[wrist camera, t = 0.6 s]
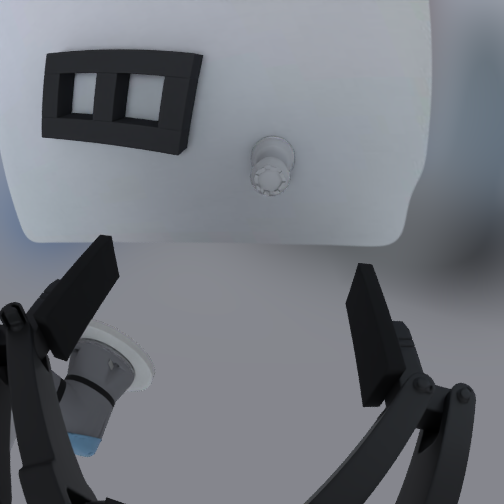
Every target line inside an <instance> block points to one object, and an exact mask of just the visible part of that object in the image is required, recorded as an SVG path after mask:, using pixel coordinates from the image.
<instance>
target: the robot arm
mask: <svg viewBox="0 0 504 504" xmlns="http://www.w3.org/2000/svg"><path fill="white" fill-rule="evenodd" d="M118 278H119V272H118V267H117V262H116V258H115V253H114V247H113V241H112V236H106V235H100V236H99V237H98V238H97V239H96V240H95V241H94V242H93V243H92V244H91V245H90V246H89V248H88V249H87V250H86V251H85V252H84V253H83V254H82V255H81V257H80V258H79V259H78V260H77V261H76V262H75V263H74V265H73V266H72V267H71V268H70V269H69V270H68V272H67V273H66V274H65V275H64V276H63V278H62V279H61V280H59V279H57V280H56V281H54V282H53V283H51V284H50V285H49V286H48V287H47V288H46V289H45V291H44V293H42V294H41V295H40V298H38V299H37V301H36V302H35V303H34V304H33V306H32V307H31V308H30V310H29V311H28V312H27V313H26V314H25V311H24V309H23V307H22V305H21V304H20V303H17V302H13V303H9V304H7V305H6V306H4V307H3V308H2V310H1V311H0V319H1V321H2V323H3V325H0V504H11V501H12V494H11V474H10V450H11V448H12V446H13V443H14V441H15V439H16V437H17V441H18V446H19V451H20V455H21V459H22V464H23V467H22V468H21V469H20V470H19V478H20V482H21V485H22V489H23V492H24V496H25V499H26V502H27V504H124V503H122V502H118V501H116V500H113V499H110V498H106V500H105V501H97V499H96V497H95V495H94V493H93V491H92V490H91V488H90V487H89V486H88V485H87V483H86V481H85V479H84V477H83V475H82V472H81V470H80V467H79V464H78V462H77V459H76V457H75V454H76V455H80V456H85V457H90V456H92V455H94V454H95V452H96V450H97V448H98V446H99V443H100V442H101V441H102V436H103V434H104V431H105V428H106V425H107V423H108V420H109V417H110V415H111V412H112V410H113V407H114V405H115V402H116V401H117V400H118V399H119V398H120V397H121V395H122V394H123V393H124V392H125V391H126V390H127V389H128V388H129V387H130V386H131V384H132V383H133V381H134V378H135V370H134V367H133V366H132V364H131V363H130V362H129V360H128V359H127V358H126V357H125V356H124V355H122V354H121V353H120V352H119V351H117V350H116V349H114V348H113V347H111V346H109V345H107V344H105V343H103V342H101V341H98V340H95V339H90V338H82V339H80V338H81V336H82V334H83V333H84V331H85V329H86V328H87V326H88V325H89V323H90V321H91V320H92V318H93V316H94V315H95V313H96V311H97V310H98V308H99V307H100V305H101V304H102V302H103V301H104V299H105V298H106V296H107V295H108V293H109V291H110V290H111V288H112V287H113V285H114V284H115V282H116V281H117V279H118ZM346 308H347V313H348V319H349V324H350V329H351V334H352V340H353V345H354V351H355V357H356V363H357V370H358V376H359V383H360V389H361V397H362V404H363V407H378V406H380V405H381V404H382V402H383V401H384V400H385V404H386V408H385V410H384V411H383V412H382V413H381V414H380V416H379V417H378V418H377V420H376V422H375V423H374V425H373V426H372V427H371V429H370V430H369V431H368V432H367V434H366V435H365V436H364V437H363V439H362V440H361V441H360V443H359V444H358V445H357V446H356V447H355V449H354V450H353V451H352V452H351V454H350V455H349V456H348V457H347V458H346V460H345V461H344V462H343V463H342V464H341V465H340V466H339V467H338V469H337V470H336V471H335V472H334V473H333V474H332V475H331V476H330V478H329V479H328V480H327V481H326V482H325V483H324V484H323V485H322V486H321V487H320V488H319V489H318V490H317V491H316V492H315V493H314V494H313V495H312V496H311V497H310V498H309V499H308V500H307V501H306V502H305V503H304V504H363V503H364V502H365V501H366V500H367V498H368V497H369V496H370V495H371V493H372V492H373V491H374V490H375V488H376V487H377V486H378V484H379V483H380V482H381V480H382V479H383V477H384V476H385V474H386V473H387V472H388V470H389V469H390V468H391V466H392V465H393V463H394V462H395V460H396V459H397V457H398V456H399V454H400V452H401V451H402V449H403V448H404V446H405V445H406V443H407V442H408V440H409V438H410V437H411V435H412V433H413V432H414V430H415V428H418V429H420V432H419V436H418V440H417V443H416V446H415V450H414V453H413V456H412V459H411V463H410V465H409V468H408V471H407V474H406V477H405V480H404V483H403V485H402V488H401V491H400V493H399V496H398V498H397V501H396V503H395V504H457V503H458V500H459V497H460V493H461V489H462V485H463V480H464V476H465V471H466V467H467V461H468V456H469V450H470V444H471V438H472V431H473V423H474V414H475V404H476V397H475V393H474V392H473V390H472V388H471V387H470V386H468V385H466V384H464V383H458V384H456V385H455V386H453V388H452V389H448V388H444V387H440V386H437V385H435V383H434V381H433V380H432V378H431V377H429V376H428V375H426V374H424V373H423V370H422V367H421V364H420V360H419V357H418V354H417V351H416V348H415V347H414V346H415V345H414V342H413V340H412V336H411V334H410V331H409V329H408V328H407V326H406V325H405V324H404V323H403V322H401V321H392V319H391V316H390V314H389V310H388V307H387V304H386V302H385V299H384V296H383V293H382V290H381V287H380V284H379V282H378V279H377V276H376V273H375V271H374V268H373V265H371V264H363V263H358V266H357V269H356V273H355V276H354V279H353V282H352V286H351V289H350V292H349V295H348V298H347V301H346ZM49 350H51V352H52V353H53V355H54V357H56V358H58V359H61V360H64V361H67V360H68V358H69V357H70V362H69V368H68V374H67V376H66V378H65V380H63V379H62V378H60V377H59V376H58V375H57V374H55V373H54V372H53V371H52V370H51V366H50V361H49V358H48V355H47V353H48V351H49ZM70 355H71V356H70Z"/></svg>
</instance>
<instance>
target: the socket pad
mask: <svg viewBox="0 0 504 504" xmlns="http://www.w3.org/2000/svg"><path fill="white" fill-rule="evenodd" d="M202 58H203V55H199V54H194V53H184V52H173V51H157V50H125V49H116V50H84V51H70V52H59V53H49V54H47V56H46V64H45V75H44V85H43V102H42V137H43V138H55V139H65V140H75V141H84V142H92V143H101V144H108V145H116V146H123V147H130V148H136V149H143V150H149V151H155V152H161V153H167V154H173V155H179V154H180V153H181V152H183V151H184V150H185V149H186V148H187V143H188V136H189V130H190V123H191V117H192V111H193V105H194V100H195V94H196V89H197V83H198V78H199V73H200V68H201V63H202ZM75 73H97V78H96V87H95V97H94V108H93V114H79V113H71V111H72V96H73V84H74V75H75ZM130 74H146V75H159V76H165V80H164V86H163V92H162V99H161V106H160V113H159V120H158V121H153V120H145V119H136V118H127V117H125V110H126V101H127V92H128V85H129V77H130Z"/></svg>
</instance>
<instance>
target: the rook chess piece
mask: <svg viewBox="0 0 504 504" xmlns="http://www.w3.org/2000/svg"><path fill="white" fill-rule="evenodd" d="M294 161H295V156H294V150H293V149H292V147H291V145H290V144H289V143H288V142H287V141H285V140H284V139H283V138H279V137H275V136H271V137H265V138H263V139H261V140H260V141H258V142H257V143H256V145H255V146H254V147H253V149H252V153H251V163H252V167H253V169H252V171H251V175H250V178H251V184H252V185H253V187H254V188H255V190H256V191H258V192H259V193H261V194H262V195H265V196H276V195H278V194H280V193H282V192H284V191H285V190H286V188H287V187H288V185H289V182H290V173H289V172H290V171H291V170H292V168H293V165H294Z"/></svg>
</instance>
